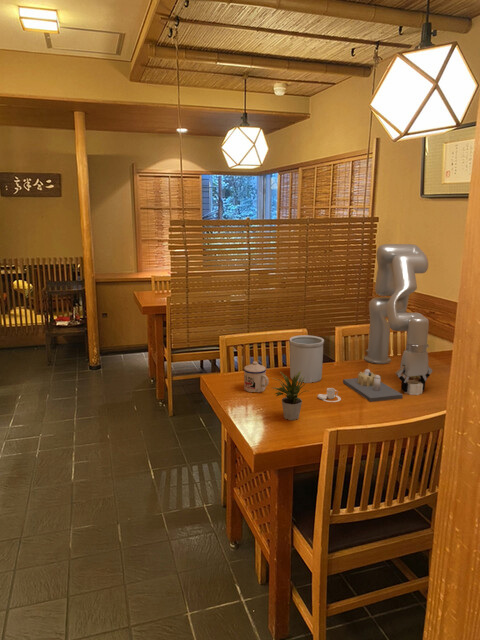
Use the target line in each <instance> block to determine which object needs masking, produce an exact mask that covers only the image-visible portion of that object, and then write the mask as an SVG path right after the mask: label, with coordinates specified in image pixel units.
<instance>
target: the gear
mask: <svg viewBox="0 0 480 640" xmlns="http://www.w3.org/2000/svg"><path fill="white" fill-rule="evenodd" d="M407 383H408V389H407V392H404V391H403V392H404V394H408V395H410V396H415V395H416V396H419V395H422V394H423V391H424V390H423V384H422V382H419V381H416V380H409V379H408V381H407Z"/></svg>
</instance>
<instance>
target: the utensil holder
mask: <svg viewBox="0 0 480 640" xmlns="http://www.w3.org/2000/svg"><path fill="white" fill-rule="evenodd" d="M324 344H325V339H324V338H323V337H320V336H315V335H309V334H306V335H304V334H303V335H295V336H291V337H290V338H289V368H290V369H289V373H290V375H289V376H290V377H289V378H290V379H291V380H292V379H293V377H294V375H295V377H296V376H297V374H298V372H300V371H301V372H300V376H299V378H298V382H297V383H299V380H300V378H301V377H302V379H301V382H302V380H303V379H304V381H303V382H304V384H305V383H306V384H310V383H311V384H312V382H313V383H317V382H320V381H321V379H322V377H323V376H322V375H323V360H324V359H323V357H324ZM302 375H303V376H302ZM301 382H300V383H301Z"/></svg>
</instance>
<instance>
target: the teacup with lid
mask: <svg viewBox="0 0 480 640" xmlns="http://www.w3.org/2000/svg"><path fill="white" fill-rule="evenodd" d="M266 372H267V369H266V367H265V366H264V365H262V364H259V363H258V361H252V362H251V363H250V364H248V365H245V366H244V367H243V373H244V375H243V376H244V377H243V378H244V380H243V382H244V383H243V384H244V385H243V388H244V391H246V392H249V393H252V392H258V393H261V392H264V391H265V390H266V387H268V385H269V382H270V381H269V378H268V376H267V375H266Z"/></svg>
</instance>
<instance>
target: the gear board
mask: <svg viewBox="0 0 480 640" xmlns="http://www.w3.org/2000/svg"><path fill="white" fill-rule="evenodd" d="M381 380H382V379H381V376H380V375H379V374H374V372H371V370H370V369H369V368H366V369H365V370H364V371H363V372H362V371H359V373H357V377H354V378H345V379H343V378H342V383H343V384H344V385H345V386H347V387H348V388H349V389H351V390H353V391H354V392H355V393H357V394H359V395H360V396H361V397H362V398H364V399H365V400H367V401H368V402H370V403H372V402H382V401H390V400H399V399H400V400H402V399H403V396H404V395H403V393H401V392H399V391H397V390H396V389H395V388H392V387H391V386H389V385H387V384H385V383H384V382H382V381H381Z"/></svg>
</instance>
